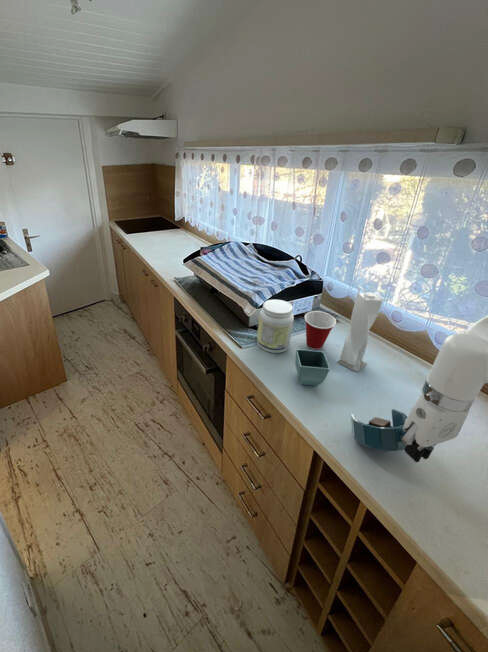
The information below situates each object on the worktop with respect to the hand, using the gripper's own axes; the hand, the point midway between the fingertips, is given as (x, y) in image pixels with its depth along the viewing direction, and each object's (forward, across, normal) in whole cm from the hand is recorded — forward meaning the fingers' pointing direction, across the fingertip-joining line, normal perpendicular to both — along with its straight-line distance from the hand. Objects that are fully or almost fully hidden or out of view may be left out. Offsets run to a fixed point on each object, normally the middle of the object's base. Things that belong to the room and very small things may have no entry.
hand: (415, 454), depth 68 cm
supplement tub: (+7, -4, +55) cm, 55 cm away
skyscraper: (+7, +17, +38) cm, 42 cm away
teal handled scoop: (+3, 0, +5) cm, 6 cm away
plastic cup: (+7, +11, +50) cm, 52 cm away
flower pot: (+7, -3, +34) cm, 35 cm away
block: (+4, 0, +8) cm, 9 cm away
